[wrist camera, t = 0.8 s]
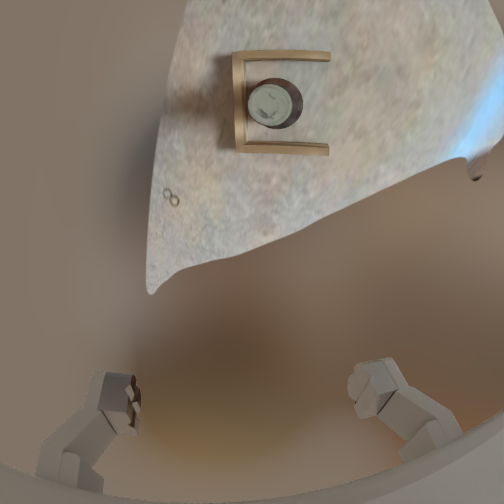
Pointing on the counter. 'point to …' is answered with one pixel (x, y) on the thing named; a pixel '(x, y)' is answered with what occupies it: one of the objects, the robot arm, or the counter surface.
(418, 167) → the counter surface
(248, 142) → the wooden bracket
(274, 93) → the sauce bottle
